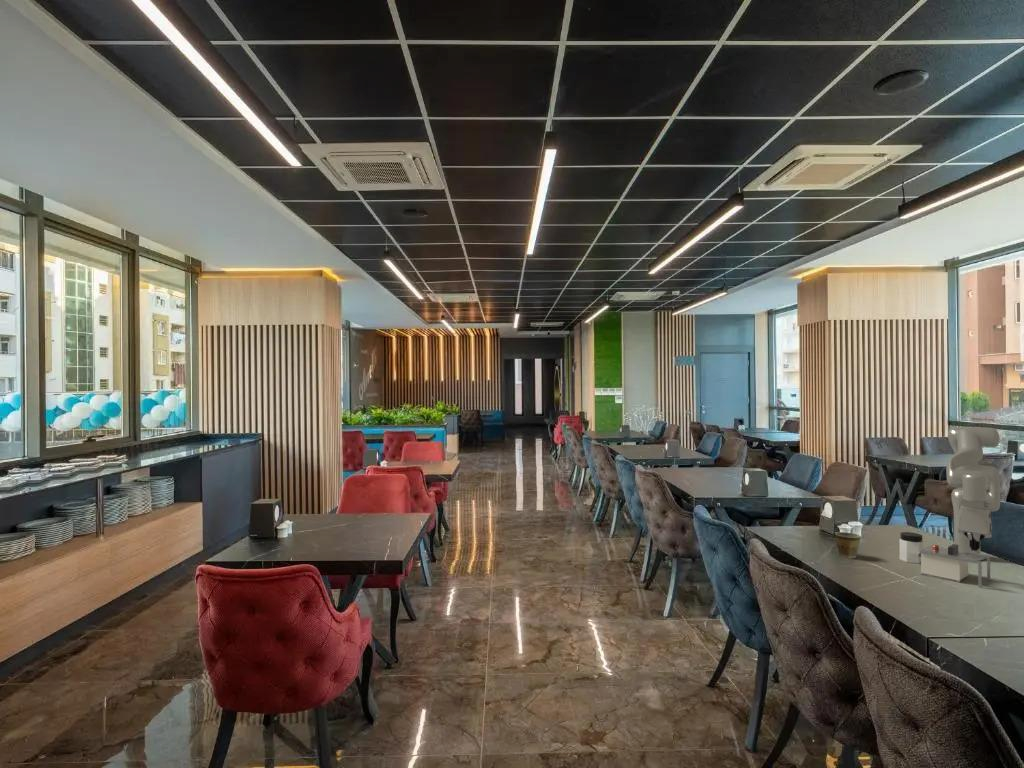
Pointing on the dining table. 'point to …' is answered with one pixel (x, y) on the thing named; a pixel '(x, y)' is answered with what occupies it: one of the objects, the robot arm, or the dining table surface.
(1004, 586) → the dining table surface
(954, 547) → the lid
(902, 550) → the jar
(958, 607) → the dining table surface
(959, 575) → the white box with rails
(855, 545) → the ceramic cup
